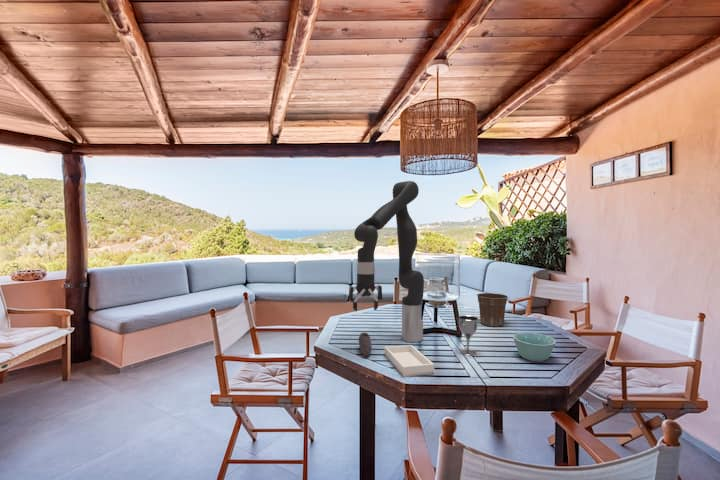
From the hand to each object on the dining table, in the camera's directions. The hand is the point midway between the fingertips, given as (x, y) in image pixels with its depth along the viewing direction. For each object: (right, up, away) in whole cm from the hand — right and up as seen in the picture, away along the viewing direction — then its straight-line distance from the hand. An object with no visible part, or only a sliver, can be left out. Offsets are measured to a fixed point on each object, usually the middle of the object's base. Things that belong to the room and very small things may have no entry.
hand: (365, 310), depth 149 cm
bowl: (+69, -19, -5) cm, 72 cm away
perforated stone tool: (0, -19, +1) cm, 19 cm away
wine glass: (+44, -19, +1) cm, 48 cm away
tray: (+16, -19, -12) cm, 28 cm away
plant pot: (+71, -17, +46) cm, 86 cm away
